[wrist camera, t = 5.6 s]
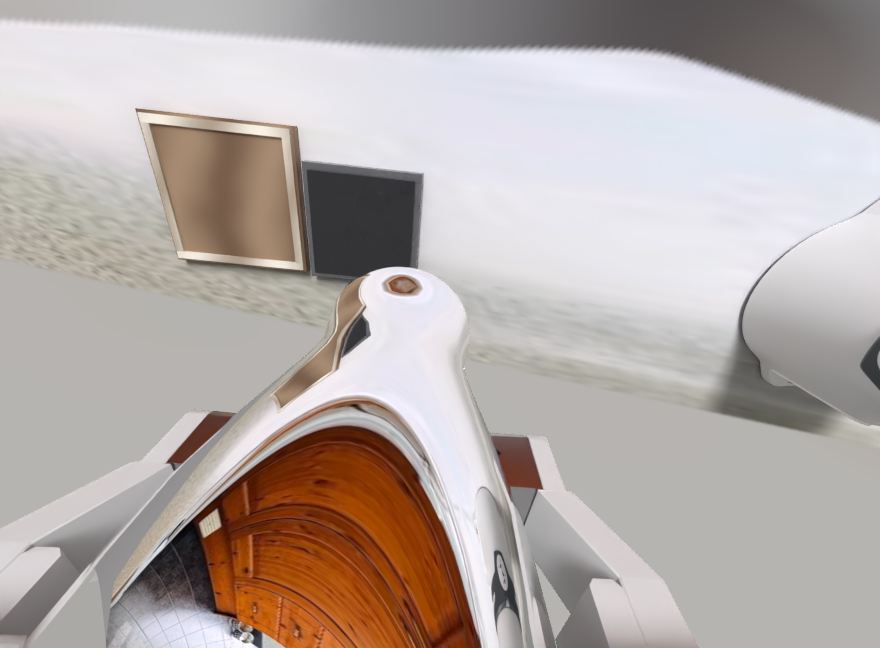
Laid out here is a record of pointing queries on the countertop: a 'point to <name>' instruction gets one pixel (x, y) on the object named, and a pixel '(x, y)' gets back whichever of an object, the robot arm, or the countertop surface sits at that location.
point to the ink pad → (361, 218)
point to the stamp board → (229, 189)
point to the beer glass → (330, 507)
